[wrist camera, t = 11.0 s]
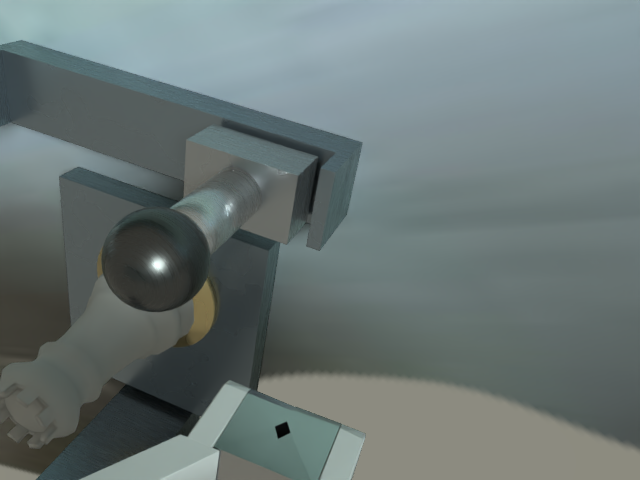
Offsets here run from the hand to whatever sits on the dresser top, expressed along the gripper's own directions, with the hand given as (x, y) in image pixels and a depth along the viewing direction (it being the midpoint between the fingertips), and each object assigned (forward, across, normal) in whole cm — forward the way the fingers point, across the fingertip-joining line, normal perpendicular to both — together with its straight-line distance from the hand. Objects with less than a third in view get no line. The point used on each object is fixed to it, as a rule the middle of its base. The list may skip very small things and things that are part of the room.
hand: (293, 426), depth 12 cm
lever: (+10, +5, 0) cm, 11 cm away
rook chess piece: (+10, +9, +7) cm, 16 cm away
